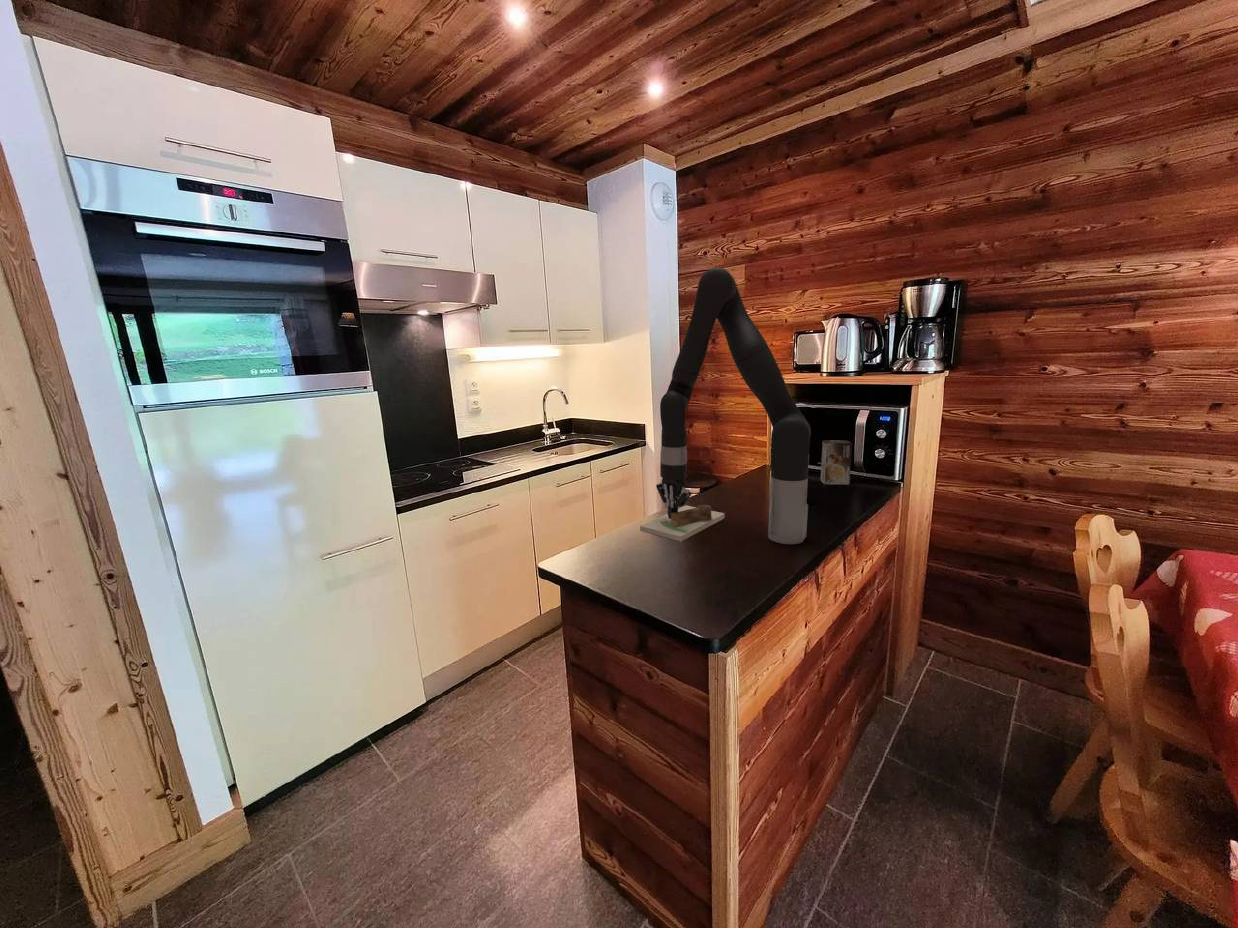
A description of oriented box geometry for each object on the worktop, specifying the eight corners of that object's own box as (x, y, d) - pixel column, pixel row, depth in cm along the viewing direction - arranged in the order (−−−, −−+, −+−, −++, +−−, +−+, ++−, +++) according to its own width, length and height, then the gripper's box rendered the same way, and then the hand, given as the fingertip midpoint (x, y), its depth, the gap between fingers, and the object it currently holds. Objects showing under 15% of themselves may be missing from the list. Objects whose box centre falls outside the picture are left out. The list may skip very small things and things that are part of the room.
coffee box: (844, 480, 186) (847, 439, 182) (849, 485, 180) (853, 442, 176) (819, 480, 187) (822, 439, 184) (823, 484, 181) (826, 442, 178)
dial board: (685, 509, 156) (686, 505, 156) (724, 518, 147) (724, 513, 147) (640, 530, 139) (640, 525, 138) (681, 541, 129) (681, 536, 129)
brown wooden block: (704, 514, 145) (704, 503, 145) (714, 518, 142) (714, 507, 141) (668, 523, 138) (668, 512, 138) (677, 527, 135) (677, 516, 134)
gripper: (648, 458, 139) (648, 515, 143) (679, 467, 129) (678, 527, 133) (667, 455, 144) (667, 510, 148) (699, 463, 133) (698, 522, 137)
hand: (672, 518), depth 140 cm, fingers closed
